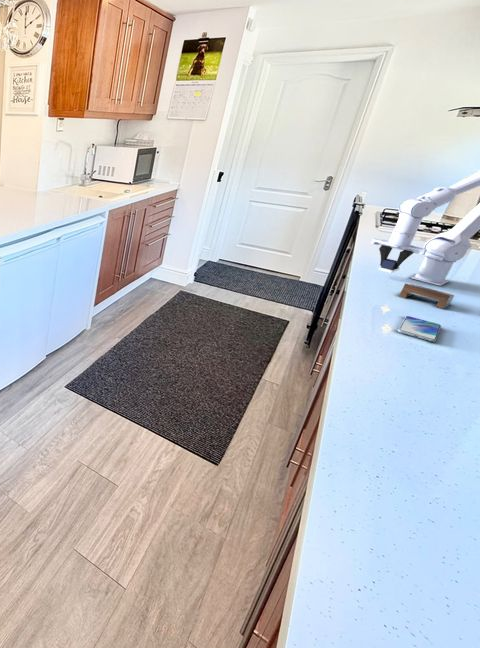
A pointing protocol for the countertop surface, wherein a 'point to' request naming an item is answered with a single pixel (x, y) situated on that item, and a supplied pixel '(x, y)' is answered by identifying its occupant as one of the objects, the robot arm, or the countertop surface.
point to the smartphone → (420, 328)
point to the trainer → (388, 266)
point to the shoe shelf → (427, 294)
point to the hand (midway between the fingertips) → (388, 267)
